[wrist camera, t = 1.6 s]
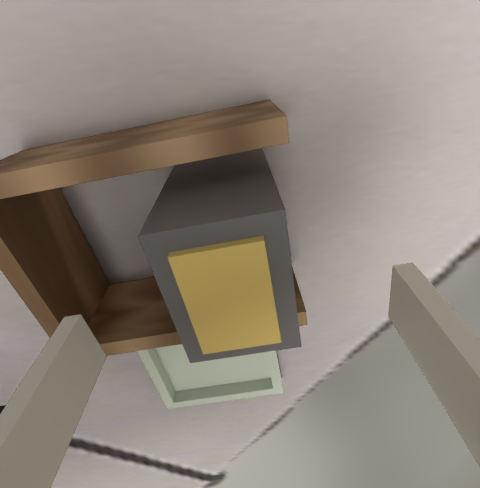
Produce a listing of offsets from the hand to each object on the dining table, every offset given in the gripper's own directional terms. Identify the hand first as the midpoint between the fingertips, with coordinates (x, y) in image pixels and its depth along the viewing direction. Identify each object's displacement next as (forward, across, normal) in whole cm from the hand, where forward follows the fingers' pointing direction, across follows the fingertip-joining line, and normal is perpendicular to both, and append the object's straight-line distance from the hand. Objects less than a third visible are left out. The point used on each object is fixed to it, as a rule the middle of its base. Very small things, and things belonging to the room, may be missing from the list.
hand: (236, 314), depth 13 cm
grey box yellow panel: (+12, 0, 0) cm, 12 cm away
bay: (+12, -5, 0) cm, 13 cm away
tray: (+12, -6, -15) cm, 20 cm away
